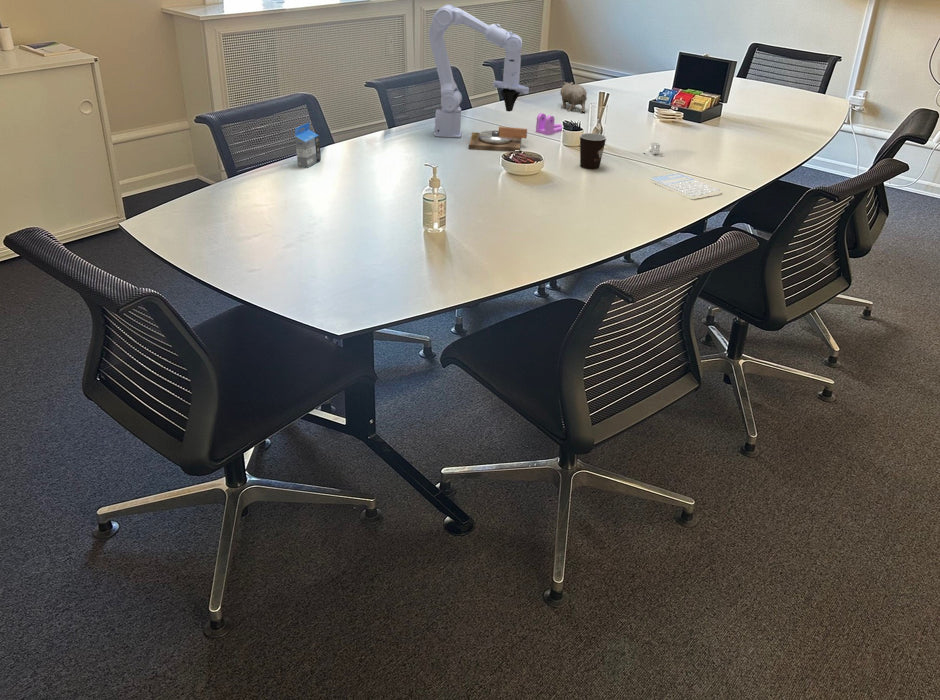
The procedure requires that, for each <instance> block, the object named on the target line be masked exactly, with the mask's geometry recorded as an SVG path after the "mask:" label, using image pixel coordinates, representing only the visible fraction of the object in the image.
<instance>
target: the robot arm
mask: <svg viewBox="0 0 940 700" xmlns="http://www.w3.org/2000/svg"><path fill="white" fill-rule="evenodd" d="M431 18H432V19H431V23H430V27H429V30H428V34H427V35H428V39H429V43H430V47H431V52H432V54H433V59H434V63H435V68H436V71H437V75H438V79H439V83H440V95H441V99H440V106H441V109H436V110H435V117H434V118H435V119H434V136H435V137H442V138H444V137H445V138H457V139H458V138H459V139H460V138H461V137H462V134H463V130H461V129H462V128H461V127H462V126H461V125H462V124H461V123H462V120H461V119H462V107H460V105H461V103H462V100H463V96H462V93H461V92H460V90H459V88H458V85H457V83H456V82H455V79H454V75H453V71H452V67H451V62H450V58H449V54H448V49H447V47H446V42H445V38H444V35H445V33H446V32H447V30H448V28H449V27H450V26H452V24H453V25H454V26H457V25H458V26H460V25H464V26H467V27H469V28H471V29H473V30H474V31H477V32H478V33H481V34H483V35H484V38H485V40H486V41H487V42H490V43H491V44H494V45H495V46H497V47H499V48H501V49H504V51H505V55H504V56H505V57H504V61H503V62H504V63H503V76H502V77H503V79H502V81H500V80H493V82H492V87H493V88H499V89H502V90H501V91H500V94H501V96H502V98H503V101H504V102H503V103H504V106H505V111H506V112H512V111H513V110H514V106H515V103H516V101H517V99H518V97H519V95H520V94H523V95H527V94H529V93H530V87H528V86H524V85H522V84H520V76H521V62H522V58H521V55H522V53H521V52H522V51H521V50H522V48H523V40H522V37H521V36H520V35H518V34H517V33H513V31H511V30H509V31H508V30H506V29H504V28H502V27H501V24H499V23H496V24H495V23H492V24H487V23H485V22H483V20H481V19H479V18H477V17H475V16H473V15H472V14H470V13H469V12H467V11H465V10H463V9H461V8H459V7H455V6H454V5H452V4H450V3H449V4H443V6H442V7H440V8H438V9H436V11H435V13H434V14H433V16H432V17H431Z"/></svg>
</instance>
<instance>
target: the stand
mask: <svg viewBox="0 0 940 700" xmlns="http://www.w3.org/2000/svg"><path fill="white" fill-rule="evenodd" d="M480 133H481V132H472V133H471V136H470V138H469V139H470V140H469V143H468V150H481V151H496V152H511V151H515V150H520V151H521V144H522V142H521V140H522V138H515V137H513V138H512V142H510V143H507V144H489V143H485V142H482V141H480V140H479V134H480Z"/></svg>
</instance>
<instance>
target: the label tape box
mask: <svg viewBox="0 0 940 700" xmlns="http://www.w3.org/2000/svg"><path fill="white" fill-rule="evenodd" d="M302 129H303V130H302ZM294 139H295V149H296V151H295V152H296V158H297V167H299V168H300V167H301V168H306V169H309V168H310V167H311V166H313V165H315V164H317V163H319V162H320V161H322V155H321V144H320V135H318V134H317V133H315V132H314V131H312V130H311V129H310V121H309V122H306V123H304V124H302V125H299V126H297V127H295V128H294Z"/></svg>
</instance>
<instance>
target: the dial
mask: <svg viewBox="0 0 940 700" xmlns="http://www.w3.org/2000/svg"><path fill="white" fill-rule="evenodd" d="M479 133H480V134H479V140H480V141H482V142H485V143H489V144H507V143H510V142H512V138H513V137H515V138H521V139H527V137H528V128H523V127H522V128H521V127H509V126H499V127H498V130H485V131H481V132H479Z"/></svg>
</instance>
